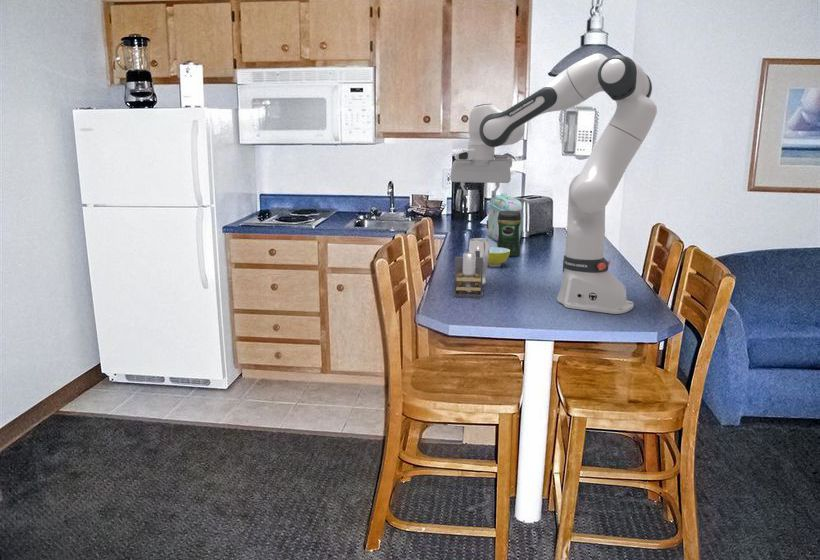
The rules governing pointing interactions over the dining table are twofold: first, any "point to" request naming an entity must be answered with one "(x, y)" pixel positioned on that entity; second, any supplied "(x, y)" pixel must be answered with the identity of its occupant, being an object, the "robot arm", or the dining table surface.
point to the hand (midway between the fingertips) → (479, 196)
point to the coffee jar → (509, 231)
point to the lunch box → (498, 205)
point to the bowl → (497, 256)
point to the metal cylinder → (469, 269)
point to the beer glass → (481, 253)
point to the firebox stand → (468, 279)
